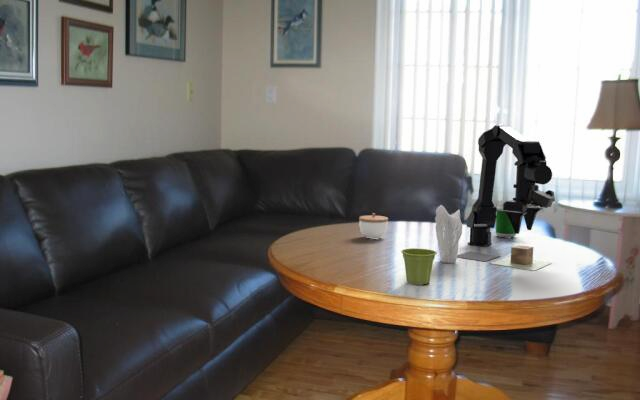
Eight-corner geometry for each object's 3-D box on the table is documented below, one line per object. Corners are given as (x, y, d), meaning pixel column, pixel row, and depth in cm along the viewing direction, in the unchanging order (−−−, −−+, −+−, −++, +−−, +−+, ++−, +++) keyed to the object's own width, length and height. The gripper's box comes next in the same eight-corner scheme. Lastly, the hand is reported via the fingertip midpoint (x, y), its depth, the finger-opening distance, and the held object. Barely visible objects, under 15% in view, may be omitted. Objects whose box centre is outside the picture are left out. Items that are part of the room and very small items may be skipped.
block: (510, 263, 205) (511, 247, 205) (517, 260, 209) (517, 244, 209) (526, 265, 202) (526, 249, 202) (532, 262, 206) (533, 247, 205)
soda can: (516, 238, 249) (518, 207, 247) (496, 237, 250) (497, 206, 249) (515, 235, 256) (516, 204, 254) (494, 234, 257) (496, 203, 256)
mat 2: (490, 263, 205) (490, 263, 205) (509, 256, 215) (509, 256, 215) (534, 270, 196) (534, 270, 196) (552, 263, 207) (552, 262, 207)
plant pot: (397, 278, 184) (398, 248, 183) (430, 278, 185) (431, 248, 184) (404, 287, 175) (405, 255, 174) (439, 287, 176) (440, 254, 174)
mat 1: (453, 256, 214) (453, 256, 214) (469, 251, 223) (469, 251, 223) (485, 261, 207) (485, 261, 207) (500, 256, 216) (500, 255, 216)
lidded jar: (368, 234, 254) (369, 210, 252) (392, 237, 247) (393, 213, 246) (353, 238, 245) (353, 213, 244) (378, 241, 239) (378, 216, 238)
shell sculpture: (461, 260, 209) (463, 203, 207) (460, 265, 201) (463, 207, 199) (434, 258, 211) (436, 202, 209) (433, 264, 203) (435, 205, 201)
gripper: (539, 185, 190) (536, 238, 192) (563, 181, 204) (560, 231, 206) (503, 182, 197) (500, 234, 199) (528, 178, 211) (525, 227, 213)
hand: (523, 231), depth 204 cm, fingers open, 9 cm apart
